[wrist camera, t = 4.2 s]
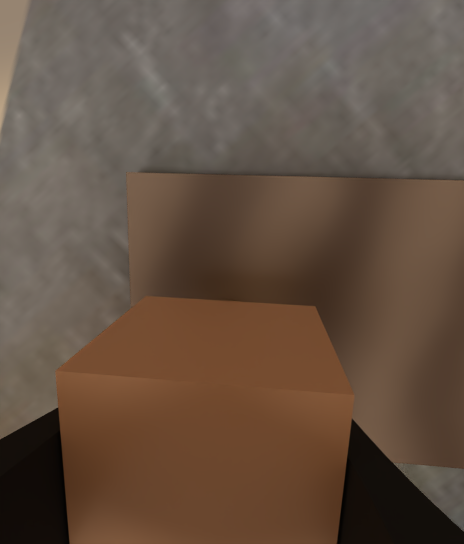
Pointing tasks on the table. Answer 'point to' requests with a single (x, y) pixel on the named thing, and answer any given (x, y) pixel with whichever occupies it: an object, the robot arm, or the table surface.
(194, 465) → the terracotta cube
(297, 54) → the table surface
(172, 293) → the board
